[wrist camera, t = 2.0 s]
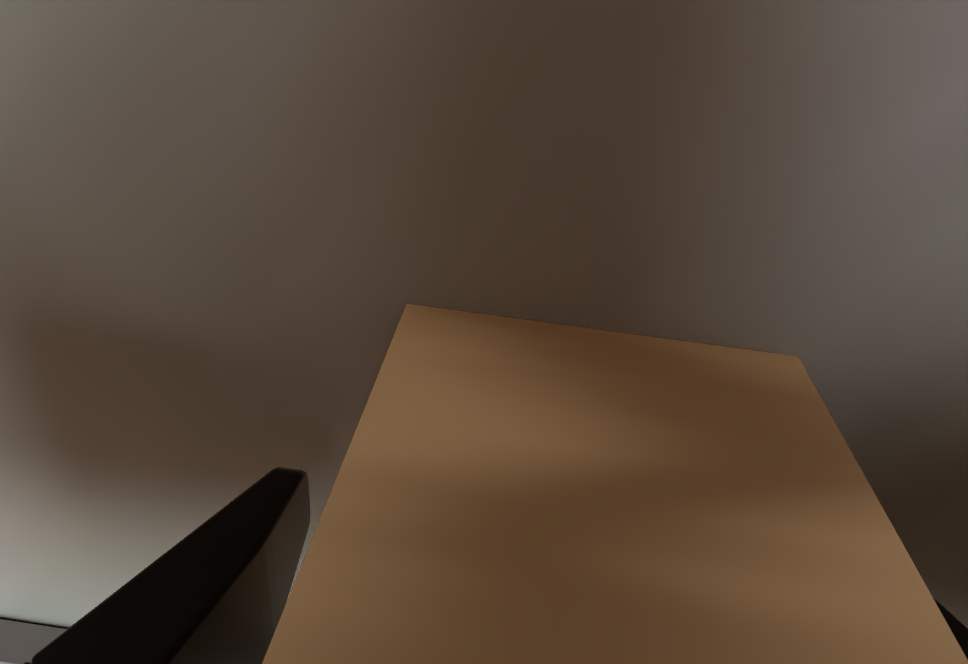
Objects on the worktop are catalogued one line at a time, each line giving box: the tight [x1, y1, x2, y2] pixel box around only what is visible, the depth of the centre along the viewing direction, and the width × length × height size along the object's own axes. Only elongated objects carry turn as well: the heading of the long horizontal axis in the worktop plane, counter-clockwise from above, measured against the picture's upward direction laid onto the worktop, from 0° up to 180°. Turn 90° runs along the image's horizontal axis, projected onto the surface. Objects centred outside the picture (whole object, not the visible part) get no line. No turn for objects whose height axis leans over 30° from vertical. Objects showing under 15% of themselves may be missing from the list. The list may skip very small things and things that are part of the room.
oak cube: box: [262, 304, 968, 664], centre depth 8 cm, size 5×5×5 cm
